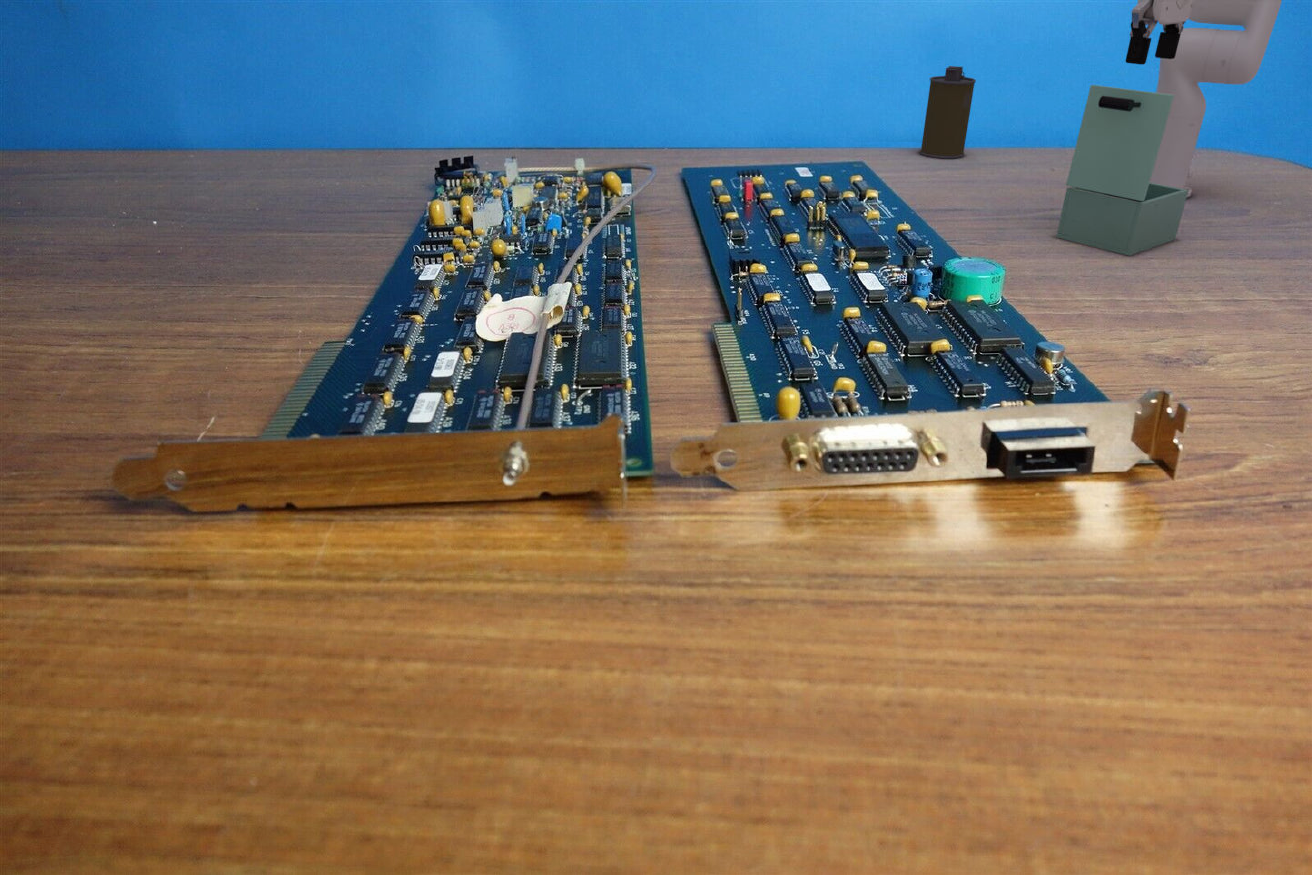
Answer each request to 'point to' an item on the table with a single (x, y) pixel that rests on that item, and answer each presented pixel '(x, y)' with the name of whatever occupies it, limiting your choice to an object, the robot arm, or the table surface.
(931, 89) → the canister
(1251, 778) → the table surface
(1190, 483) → the table surface
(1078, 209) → the cool box
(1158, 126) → the cool box lid
